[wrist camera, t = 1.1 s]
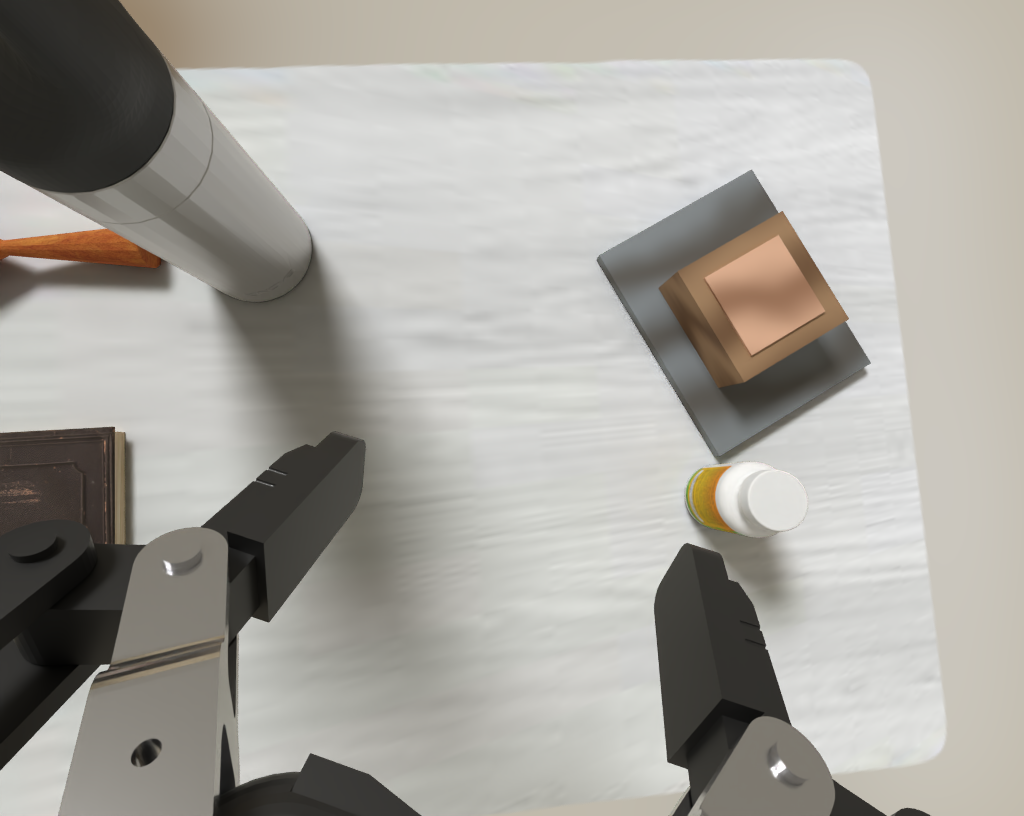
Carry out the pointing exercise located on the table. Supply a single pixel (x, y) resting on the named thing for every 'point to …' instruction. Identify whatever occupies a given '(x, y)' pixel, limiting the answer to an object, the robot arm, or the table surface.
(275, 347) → the table surface
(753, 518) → the supplement bottle
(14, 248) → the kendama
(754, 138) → the table surface
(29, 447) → the hardcover book
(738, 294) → the grey brown stepped block
